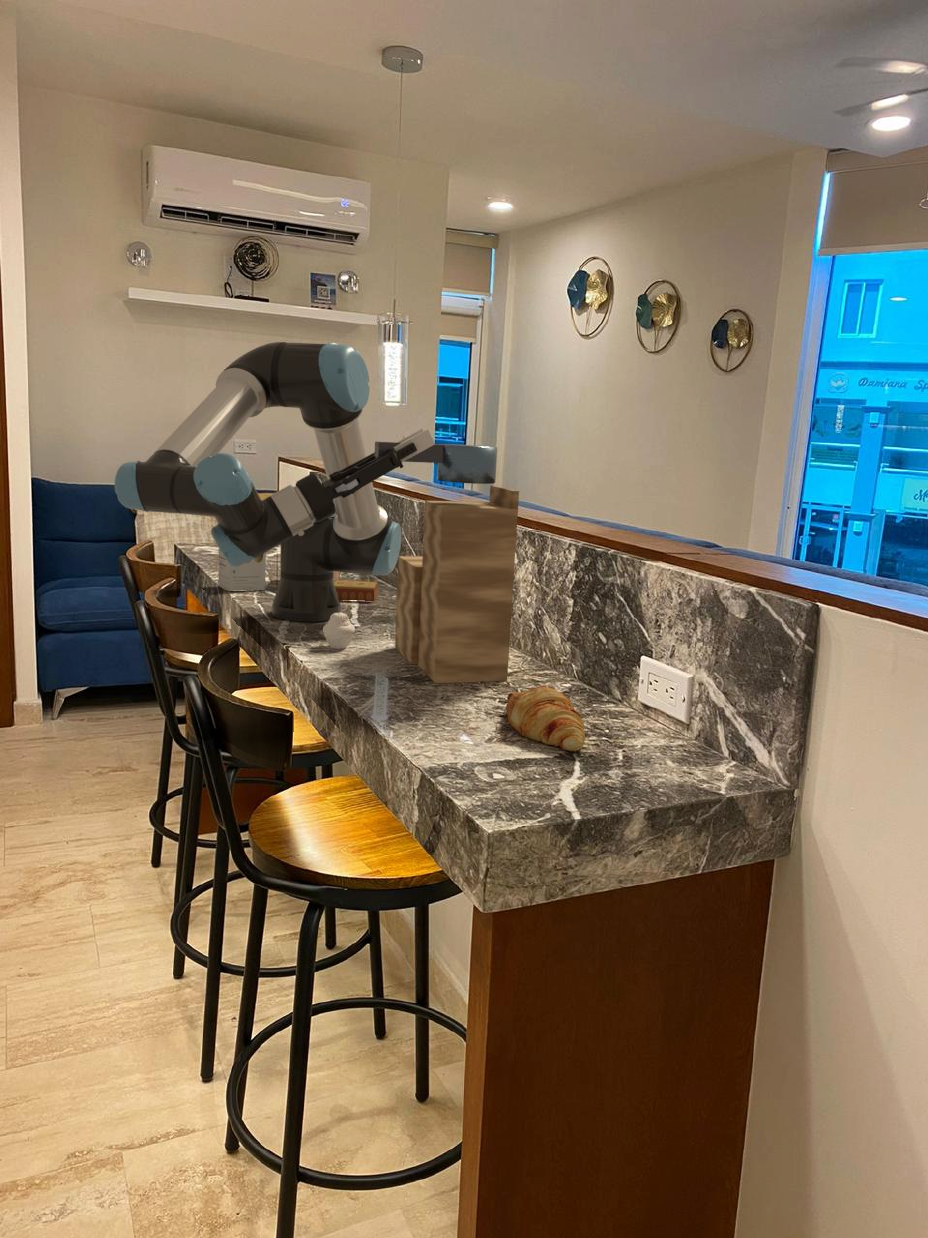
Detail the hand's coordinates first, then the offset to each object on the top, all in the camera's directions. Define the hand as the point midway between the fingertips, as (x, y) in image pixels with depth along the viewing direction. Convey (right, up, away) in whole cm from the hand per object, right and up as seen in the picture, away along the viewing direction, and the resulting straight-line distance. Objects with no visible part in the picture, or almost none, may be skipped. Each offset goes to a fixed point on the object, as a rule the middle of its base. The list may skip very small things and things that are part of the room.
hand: (427, 436), depth 156 cm
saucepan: (+1, -7, +2) cm, 7 cm away
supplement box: (-50, -23, +80) cm, 97 cm away
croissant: (+17, -48, -19) cm, 54 cm away
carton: (-24, -26, +74) cm, 82 cm away
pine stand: (+3, -39, +16) cm, 42 cm away
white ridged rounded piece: (-18, -36, +25) cm, 48 cm away
